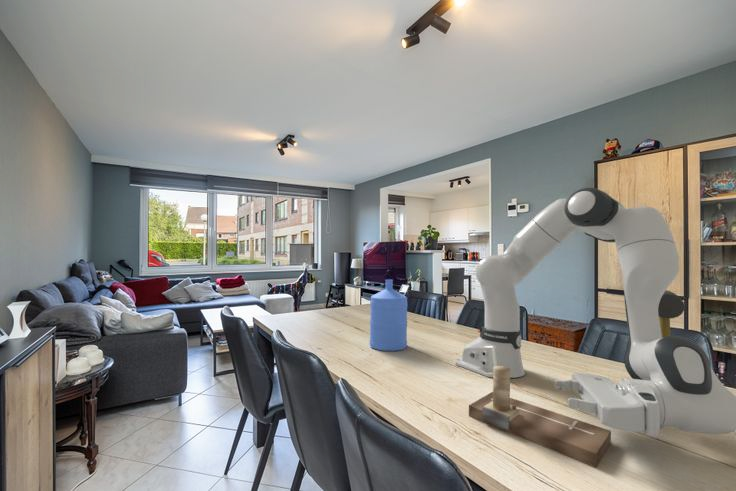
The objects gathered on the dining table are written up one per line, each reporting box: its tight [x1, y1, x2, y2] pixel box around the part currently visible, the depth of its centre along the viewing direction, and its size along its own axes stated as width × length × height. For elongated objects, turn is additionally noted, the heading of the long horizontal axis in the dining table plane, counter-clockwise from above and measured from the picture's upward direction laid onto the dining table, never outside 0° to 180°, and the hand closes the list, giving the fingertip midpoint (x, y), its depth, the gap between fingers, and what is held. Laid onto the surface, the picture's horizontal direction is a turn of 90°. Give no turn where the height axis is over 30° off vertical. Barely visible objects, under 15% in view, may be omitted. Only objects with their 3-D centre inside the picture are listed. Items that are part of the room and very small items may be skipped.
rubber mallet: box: [658, 289, 686, 338], centre depth 93 cm, size 12×8×30 cm, turn 146°
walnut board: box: [468, 391, 612, 468], centre depth 75 cm, size 26×12×3 cm, turn 43°
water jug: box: [369, 278, 408, 352], centre depth 140 cm, size 16×16×28 cm
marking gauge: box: [482, 366, 519, 429], centre depth 77 cm, size 6×6×12 cm
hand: (561, 392), depth 73 cm, fingers open, 8 cm apart
